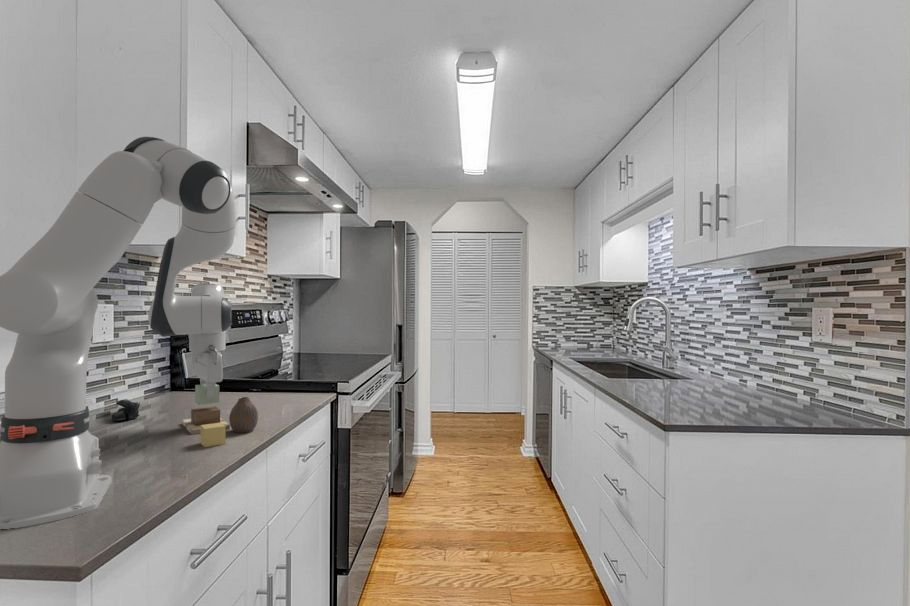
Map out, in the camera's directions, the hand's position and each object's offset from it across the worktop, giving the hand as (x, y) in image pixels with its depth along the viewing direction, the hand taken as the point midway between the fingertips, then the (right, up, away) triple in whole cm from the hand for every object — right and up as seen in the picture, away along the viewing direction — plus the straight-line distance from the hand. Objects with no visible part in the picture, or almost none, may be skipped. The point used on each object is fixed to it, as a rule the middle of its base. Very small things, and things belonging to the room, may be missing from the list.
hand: (207, 395), depth 134 cm
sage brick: (0, -2, 0) cm, 2 cm away
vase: (+12, -9, -4) cm, 15 cm away
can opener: (-30, -9, +12) cm, 34 cm away
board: (0, -9, 0) cm, 9 cm away
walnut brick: (0, -7, 0) cm, 7 cm away
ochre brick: (+9, -9, -16) cm, 21 cm away
